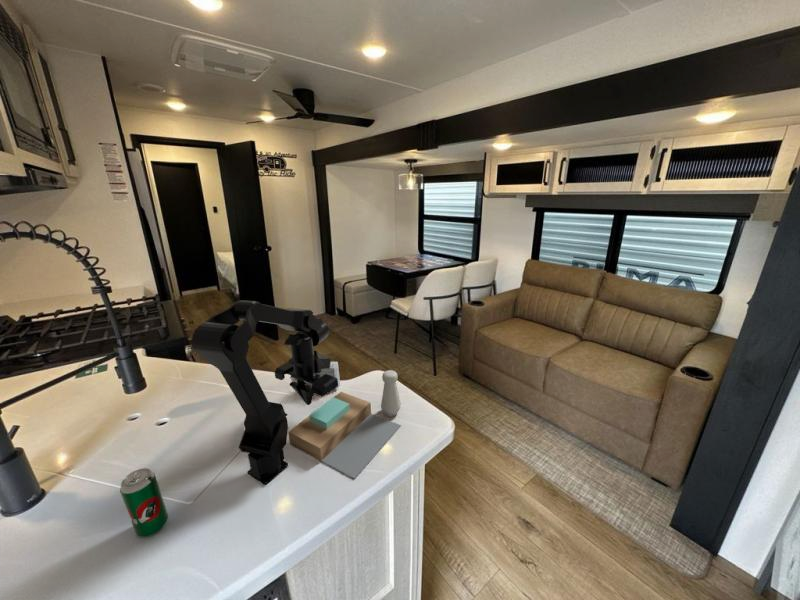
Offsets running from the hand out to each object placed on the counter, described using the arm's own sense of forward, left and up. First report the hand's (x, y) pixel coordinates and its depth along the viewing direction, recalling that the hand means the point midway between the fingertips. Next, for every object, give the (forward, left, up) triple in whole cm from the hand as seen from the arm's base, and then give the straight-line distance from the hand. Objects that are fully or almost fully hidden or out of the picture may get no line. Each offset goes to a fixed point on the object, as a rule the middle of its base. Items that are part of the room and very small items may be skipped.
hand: (308, 403), depth 89 cm
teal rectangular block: (0, -8, -1) cm, 8 cm away
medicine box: (+14, +7, -5) cm, 16 cm away
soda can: (-38, +3, -5) cm, 38 cm away
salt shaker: (+14, -18, -5) cm, 24 cm away
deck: (0, -8, -5) cm, 10 cm away
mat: (0, -19, -5) cm, 20 cm away
